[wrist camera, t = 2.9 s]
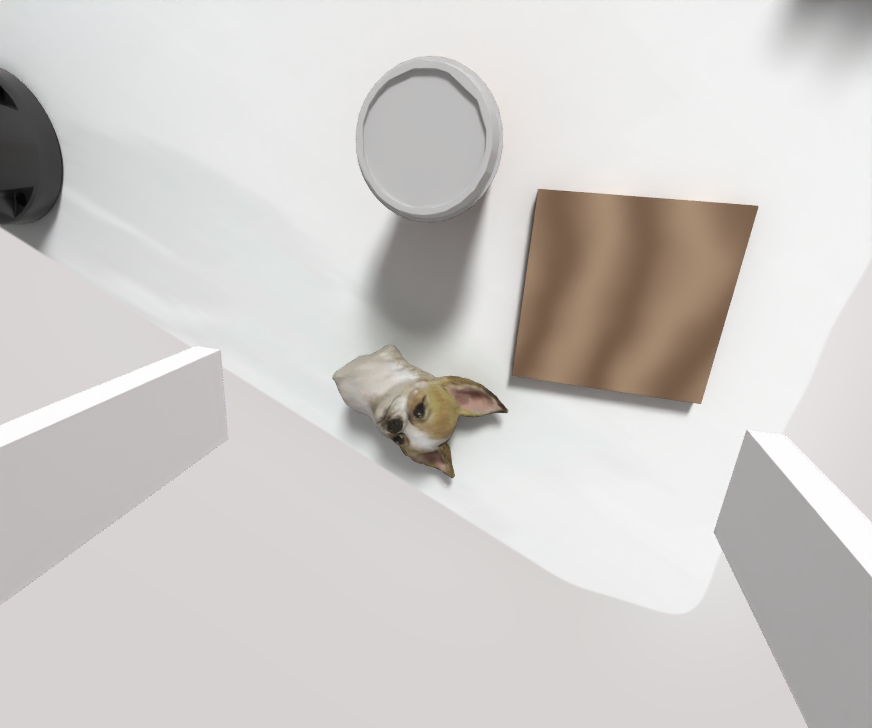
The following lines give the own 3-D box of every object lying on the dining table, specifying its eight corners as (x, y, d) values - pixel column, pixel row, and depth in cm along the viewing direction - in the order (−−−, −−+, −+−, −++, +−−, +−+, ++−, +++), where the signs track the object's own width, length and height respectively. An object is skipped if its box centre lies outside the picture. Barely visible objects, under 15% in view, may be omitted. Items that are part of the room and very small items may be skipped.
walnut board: (513, 370, 45) (511, 375, 43) (538, 189, 39) (538, 189, 38) (696, 397, 42) (700, 404, 40) (750, 205, 36) (758, 205, 35)
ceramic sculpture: (354, 333, 38) (510, 437, 38) (384, 306, 46) (513, 393, 46) (298, 427, 42) (440, 519, 43) (335, 387, 50) (454, 465, 51)
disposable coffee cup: (529, 193, 40) (520, 191, 29) (424, 232, 43) (380, 243, 31) (495, 72, 37) (471, 18, 26) (387, 121, 40) (325, 91, 29)
